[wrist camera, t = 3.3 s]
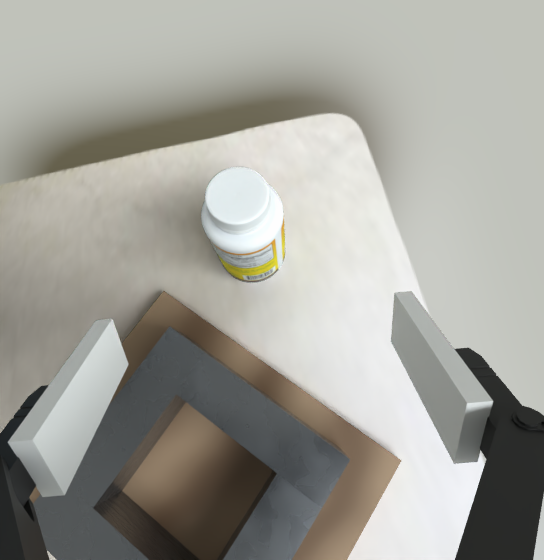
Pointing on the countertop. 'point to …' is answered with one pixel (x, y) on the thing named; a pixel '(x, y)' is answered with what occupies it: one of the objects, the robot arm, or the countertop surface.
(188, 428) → the brown base board
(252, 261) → the supplement bottle
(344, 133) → the countertop surface
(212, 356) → the square socket
